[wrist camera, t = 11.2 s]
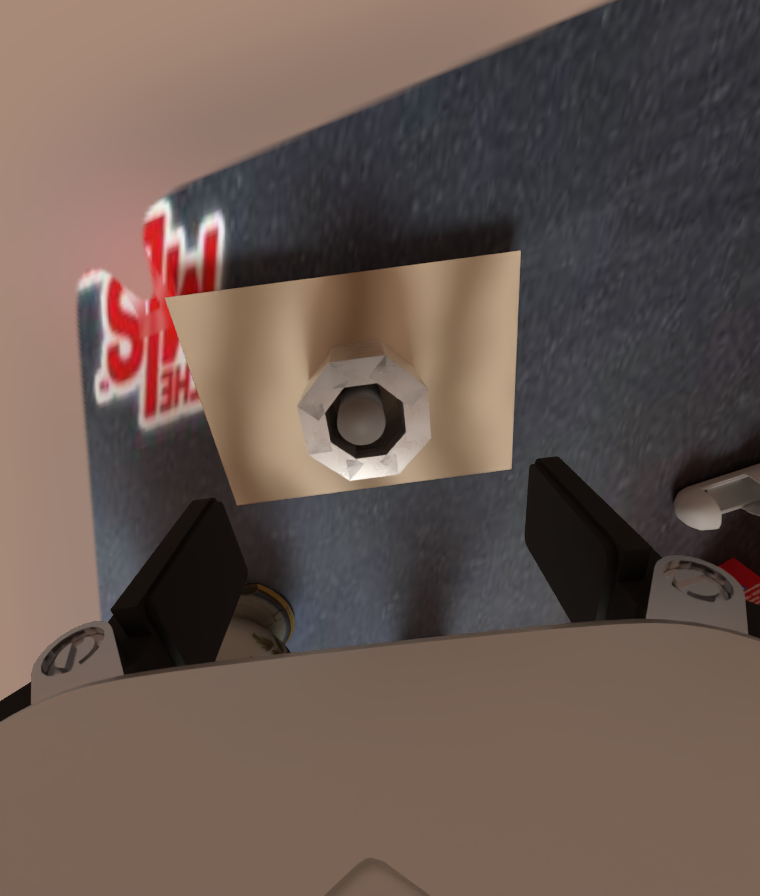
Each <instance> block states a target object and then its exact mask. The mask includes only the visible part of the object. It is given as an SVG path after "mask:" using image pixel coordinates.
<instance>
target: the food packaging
mask: <svg viewBox="0 0 760 896" xmlns="http://www.w3.org/2000/svg"><path fill="white" fill-rule="evenodd" d="M717 567H719V568H721V569H723V570H725V571H726V572H727V573H729V574H730V575H731V576H733V577H734V578H735V579H736V580H737V581H738V583H739V584H740V585H741V586H742V589H743V591H744V594H745V600H747V601H750V602H752V603H755V604H758V605H760V577H759V576H758V575H756V574H755V573H754V572H752V571H751V570H750V569H748V568H747V567H746V566H744V565H743V564H742V563H740V562H739V561H738V560H736V559H735V558H734V557H733V558H731V559H730V560H728V561H726V562H724V563H723V564H721V565H719V566H717Z"/></svg>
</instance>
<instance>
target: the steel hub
mask: <svg viewBox="0 0 760 896" xmlns="http://www.w3.org/2000/svg"><path fill="white" fill-rule="evenodd" d="M374 383H378V384H379V385H381V386H382V387H383V388H385V389H386V390H387V391H389V392H390V393H391V394H393V395H394V396H395V397H396V401H397V403H396V404H395V405H394V406H393V407H392V409H391V410H390V411H389V412H388V413H387V415H386V416H385V429H384V432H383V433H382V435H381V436H380V437H379V438H378V439H377V440H376V441H374V442H373V443H370V444H367V445H355V444H352V443H350V442H348V441H347V440H345V439H344V438H343V437H342V436H341V434H340V433H339V430H338V427H337V418H338V412H337V411H336V410H335V404H334V400H335V399H336V397H337V396H338V395H339V393H340V392H341V391H342V390H343V388H344V387H351V386H359V385H366V384H374ZM297 408H298V412H299V417H300V421H301V425H302V430H303V434H304V438H305V443H306V447H307V452H308V455H310V456H311V457H313V458H314V459H316V460H318V461H319V462H321V463H322V464H324V465H325V466H327V467H329V468H330V469H332V470H333V471H335V472H337V473H338V474H340V475H341V476H343V477H344V478H346V479H348V480H349V481H353V480H360V479H368V478H375V477H383V476H390V475H398V474H399V473H400V472H401V471H402V470H403V469H404V468H405V467H406V466H407V465H408V463H409V462H410V461H411V460H412V459H413V458H414V457H415V456H416V455H417V453H418V452H419V451H420V450H421V449H422V448H423V447H424V446H425V445H426V443H427V442H428V441H429V440H430V439H431V429H430V413H429V398H428V388H427V386H426V385H425V383H424V382H423V380H422V378H421V377H420V375H419V374H418V372H417V370H416V369H415V367H414V366H413V365H412V364H410V363H409V362H408V361H407V360H406V359H404V358H403V357H402V356H401V355H399V354H398V353H397V352H396V351H394V350H393V349H392V348H391V347H389V346H388V345H387V344H386V343H384V342H383V341H382V340H381V339H372V340H365V341H357V342H350V343H342V344H334V346H333V347H332V348H331V350H330V351H329V353H328V354H327V355H326V357H325V358H324V360H323V361H322V362H321V364H320V365H319V367H318V368H317V369H316V371H315V372H314V374H313V375H312V377H311V378H310V379H309V381H308V383H307V385H306V388H305V390H304V392H303V394H302V396H301V399H300V401H299V403H298V405H297Z"/></svg>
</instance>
